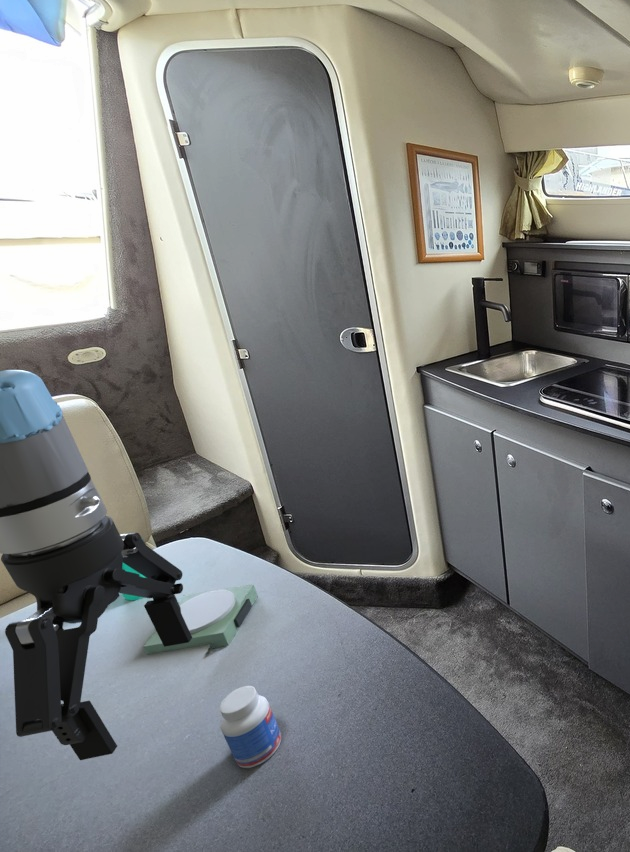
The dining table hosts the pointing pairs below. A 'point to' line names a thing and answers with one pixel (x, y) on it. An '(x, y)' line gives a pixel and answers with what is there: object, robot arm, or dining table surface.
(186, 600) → the kitchen scale
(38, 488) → the robot arm
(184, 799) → the dining table surface
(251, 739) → the pill bottle
